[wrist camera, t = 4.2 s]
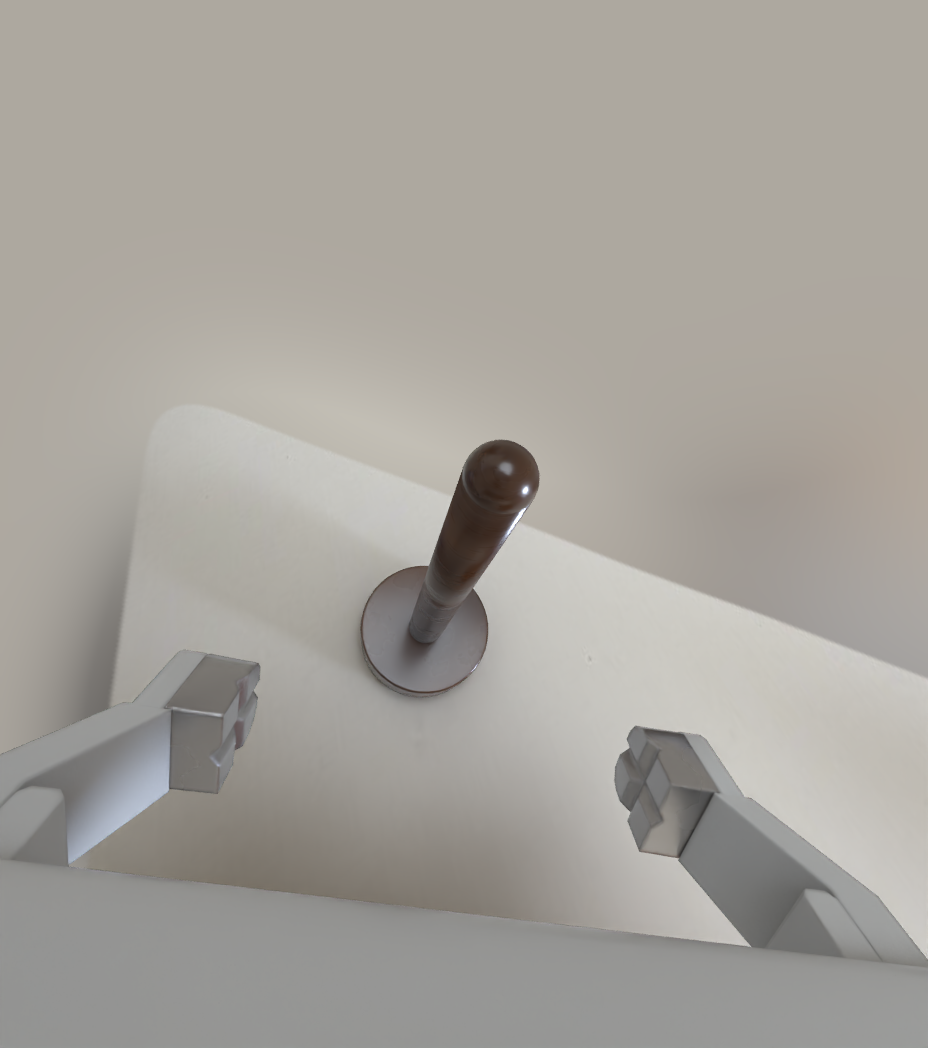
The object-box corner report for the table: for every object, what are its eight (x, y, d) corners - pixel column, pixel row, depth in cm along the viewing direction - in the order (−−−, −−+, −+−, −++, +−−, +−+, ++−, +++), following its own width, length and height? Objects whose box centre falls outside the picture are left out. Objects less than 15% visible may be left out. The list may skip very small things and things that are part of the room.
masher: (335, 637, 23) (275, 449, 8) (419, 555, 26) (490, 297, 11) (424, 725, 22) (539, 692, 7) (503, 632, 25) (706, 466, 10)
